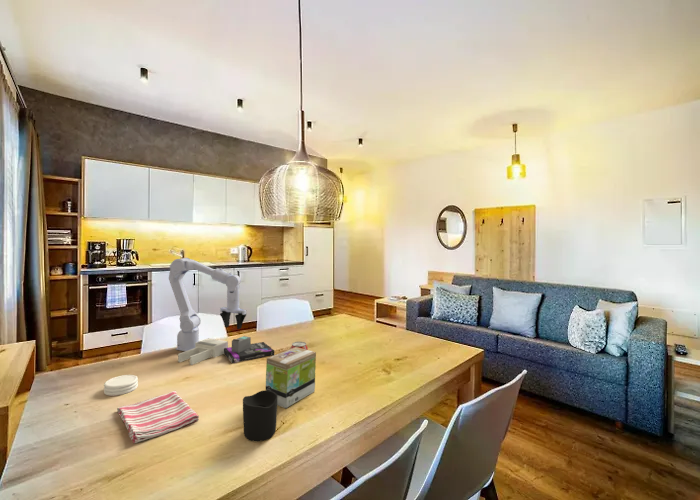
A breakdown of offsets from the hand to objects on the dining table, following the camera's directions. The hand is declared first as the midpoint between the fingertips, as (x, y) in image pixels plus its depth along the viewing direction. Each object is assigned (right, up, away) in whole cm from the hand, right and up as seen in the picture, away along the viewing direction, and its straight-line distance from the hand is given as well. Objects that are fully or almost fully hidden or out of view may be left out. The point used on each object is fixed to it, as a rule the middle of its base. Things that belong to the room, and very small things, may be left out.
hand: (233, 327), depth 161 cm
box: (+10, -12, -7) cm, 17 cm away
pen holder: (+32, -14, -68) cm, 76 cm away
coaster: (-24, -12, -44) cm, 51 cm away
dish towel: (-1, -13, -61) cm, 62 cm away
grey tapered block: (+7, -8, -8) cm, 13 cm away
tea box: (+37, -13, -46) cm, 60 cm away
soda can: (+36, -12, -27) cm, 47 cm away
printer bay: (-10, -11, -11) cm, 18 cm away
